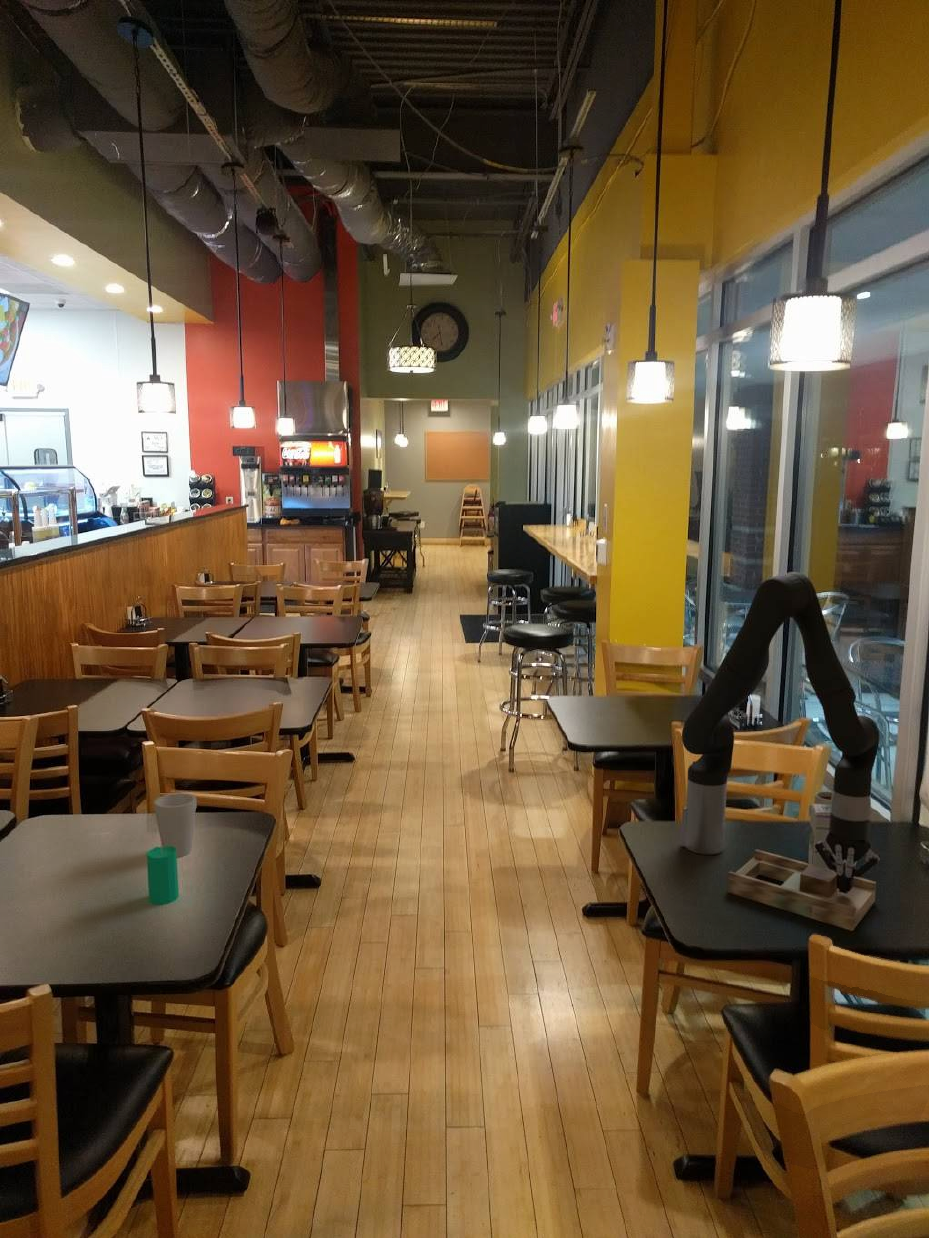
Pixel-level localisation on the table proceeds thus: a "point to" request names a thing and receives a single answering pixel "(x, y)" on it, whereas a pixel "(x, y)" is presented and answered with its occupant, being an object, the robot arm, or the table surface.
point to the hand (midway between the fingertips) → (844, 891)
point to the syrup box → (818, 832)
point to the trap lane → (800, 891)
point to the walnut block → (818, 881)
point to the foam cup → (176, 821)
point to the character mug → (822, 799)
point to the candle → (162, 875)
